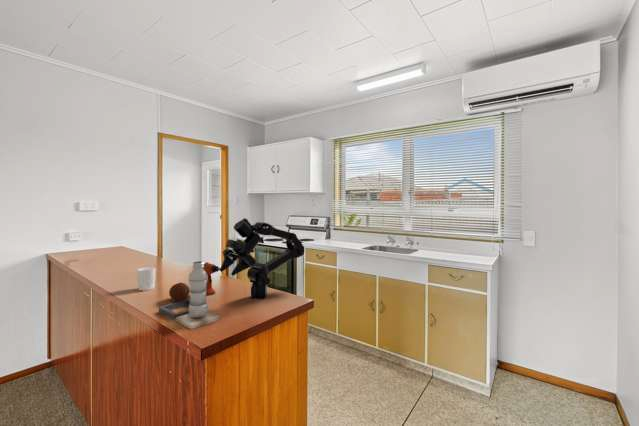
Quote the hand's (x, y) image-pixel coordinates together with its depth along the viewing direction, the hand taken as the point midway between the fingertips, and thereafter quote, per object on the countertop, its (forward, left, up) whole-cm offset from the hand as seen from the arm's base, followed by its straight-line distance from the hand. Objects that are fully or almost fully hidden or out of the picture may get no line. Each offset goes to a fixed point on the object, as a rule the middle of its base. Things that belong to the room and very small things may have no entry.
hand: (226, 273), depth 125 cm
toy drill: (+11, -13, -14) cm, 22 cm away
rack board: (+4, +17, -14) cm, 22 cm away
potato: (+22, -4, -14) cm, 26 cm away
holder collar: (+14, +9, -14) cm, 21 cm away
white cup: (+47, -19, -14) cm, 53 cm away
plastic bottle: (+4, +17, -13) cm, 21 cm away
